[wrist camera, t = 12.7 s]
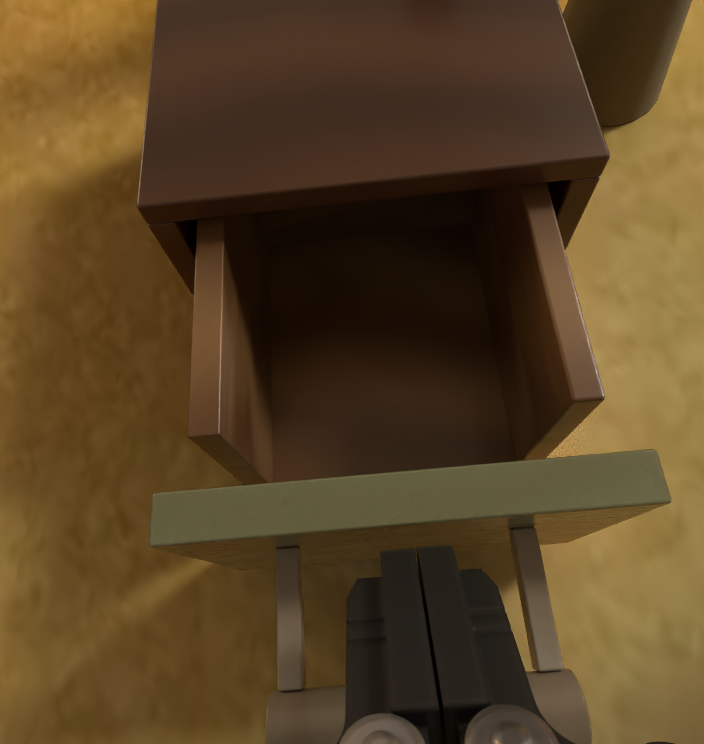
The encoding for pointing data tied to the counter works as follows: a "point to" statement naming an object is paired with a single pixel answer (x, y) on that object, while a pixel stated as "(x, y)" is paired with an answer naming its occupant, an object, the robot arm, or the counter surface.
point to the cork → (624, 51)
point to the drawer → (395, 411)
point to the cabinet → (358, 108)
